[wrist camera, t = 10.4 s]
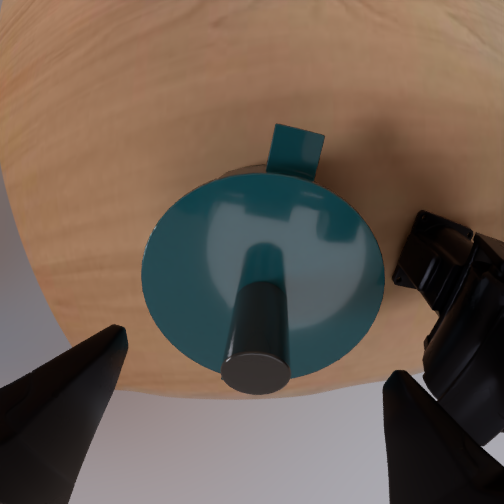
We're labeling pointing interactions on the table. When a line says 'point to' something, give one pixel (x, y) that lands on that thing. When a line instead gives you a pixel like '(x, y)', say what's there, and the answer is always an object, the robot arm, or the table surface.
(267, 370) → the lid
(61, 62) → the table surface
